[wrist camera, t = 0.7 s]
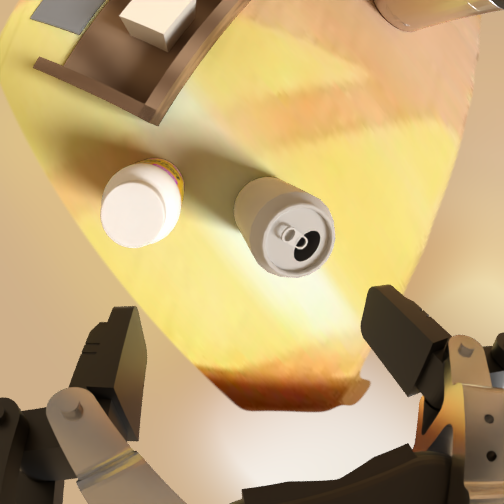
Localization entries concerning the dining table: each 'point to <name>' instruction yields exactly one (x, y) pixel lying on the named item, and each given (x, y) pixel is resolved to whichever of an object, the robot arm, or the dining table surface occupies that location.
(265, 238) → the can
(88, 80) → the walnut box
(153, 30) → the cream block
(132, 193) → the supplement bottle
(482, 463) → the robot arm
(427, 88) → the dining table surface
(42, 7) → the slate mat
